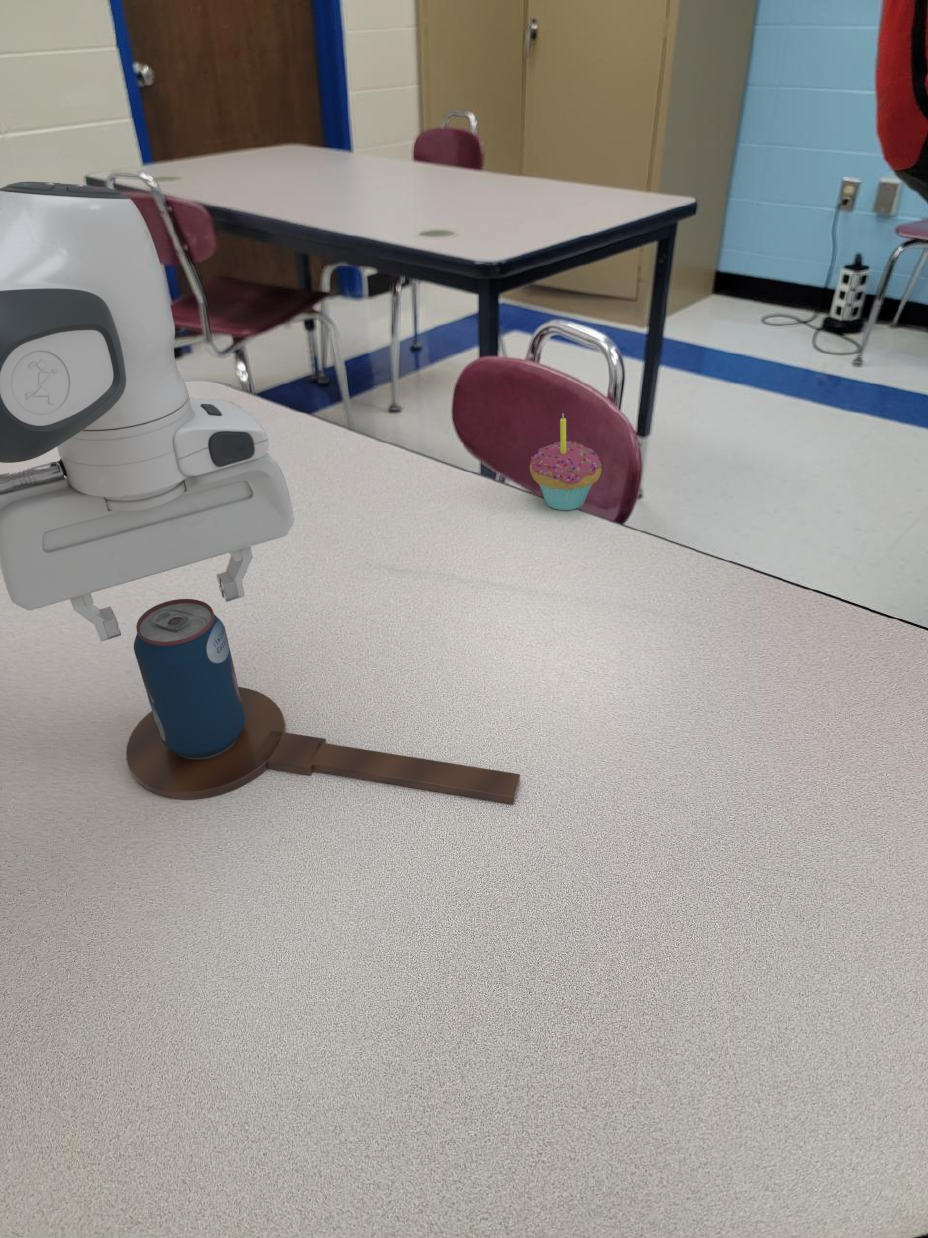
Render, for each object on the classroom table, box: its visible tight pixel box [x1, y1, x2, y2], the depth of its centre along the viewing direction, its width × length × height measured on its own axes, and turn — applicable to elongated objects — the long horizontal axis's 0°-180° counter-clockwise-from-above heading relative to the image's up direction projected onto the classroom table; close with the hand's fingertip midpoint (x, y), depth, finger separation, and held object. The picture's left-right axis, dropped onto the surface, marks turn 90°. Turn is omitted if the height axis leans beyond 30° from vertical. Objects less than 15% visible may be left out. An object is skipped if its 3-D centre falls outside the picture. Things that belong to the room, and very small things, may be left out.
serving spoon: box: [125, 686, 521, 805], centre depth 74 cm, size 33×13×1 cm, turn 76°
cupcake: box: [529, 412, 603, 511], centre depth 105 cm, size 9×8×12 cm
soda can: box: [133, 598, 245, 759], centre depth 72 cm, size 7×7×12 cm
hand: (172, 615), depth 68 cm, fingers open, 8 cm apart
